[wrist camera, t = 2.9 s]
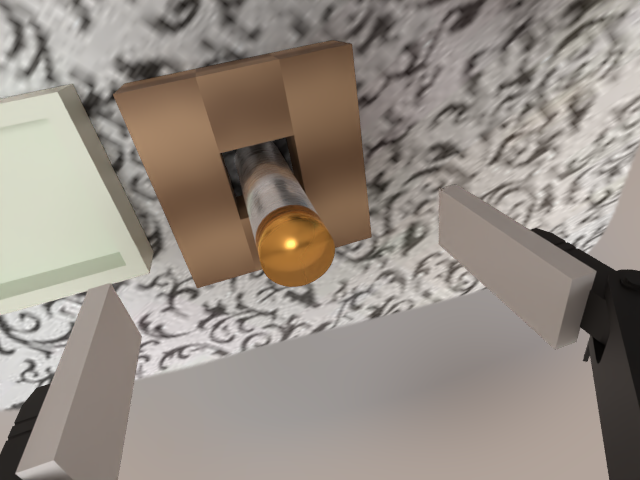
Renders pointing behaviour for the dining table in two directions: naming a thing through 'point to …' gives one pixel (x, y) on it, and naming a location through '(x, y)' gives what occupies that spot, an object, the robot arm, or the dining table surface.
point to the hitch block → (246, 130)
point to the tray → (60, 204)
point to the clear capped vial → (282, 218)
